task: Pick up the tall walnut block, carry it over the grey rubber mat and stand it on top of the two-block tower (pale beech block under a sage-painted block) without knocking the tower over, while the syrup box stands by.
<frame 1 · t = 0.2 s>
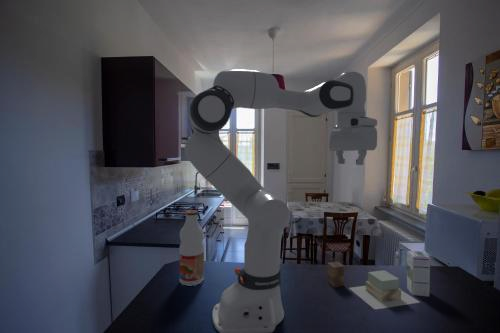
hand: (350, 164, 88), 47 cm above the countertop, fingers open, 8 cm apart
fruit juice: (191, 282, 103), on the countertop
syrup box: (417, 293, 96), on the countertop
tower base: (382, 294, 93), resting on mat, touching tower top
walnut block: (335, 284, 101), on the countertop
mat: (382, 295, 93), on the countertop
tower top: (383, 285, 93), point 4 cm above the countertop, touching tower base
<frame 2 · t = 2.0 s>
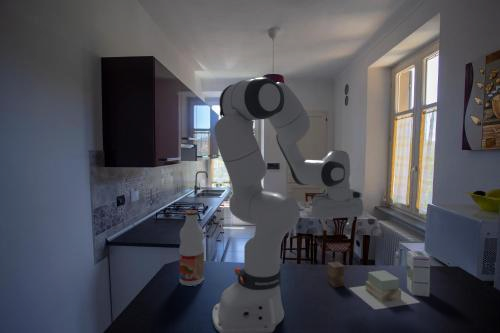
hand: (336, 228, 100), 22 cm above the countertop, fingers open, 8 cm apart
nothing on the countertop moved.
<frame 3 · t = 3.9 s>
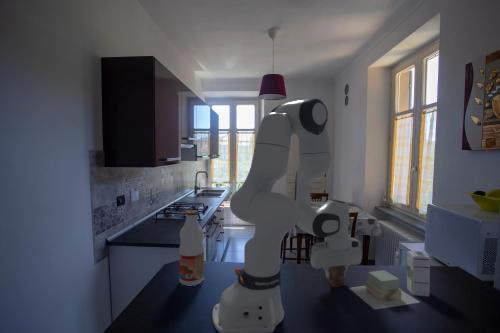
hand: (335, 276, 101), 3 cm above the countertop, fingers closed on walnut block, 5 cm apart
walnut block: (335, 284, 101), on the countertop, touching gripper
everything else where it was.
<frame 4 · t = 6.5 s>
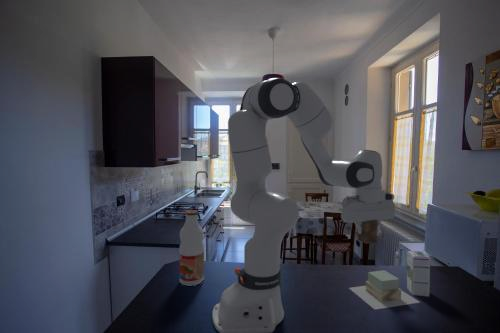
hand: (367, 232, 95), 22 cm above the countertop, fingers closed on walnut block, 4 cm apart
walnut block: (367, 241, 96), point 19 cm above the countertop, touching gripper
everything else where it was.
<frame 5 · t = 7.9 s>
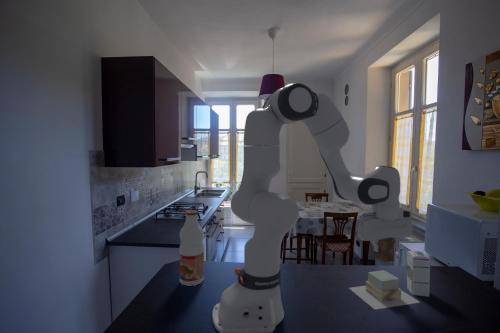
hand: (384, 250, 93), 16 cm above the countertop, fingers closed on walnut block, 4 cm apart
walnut block: (383, 259, 93), point 13 cm above the countertop, touching gripper
everything else where it was.
when the fingers open (12 cm above the countertop, at t = 9.1 s): walnut block drops 1 cm, resting on tower top.
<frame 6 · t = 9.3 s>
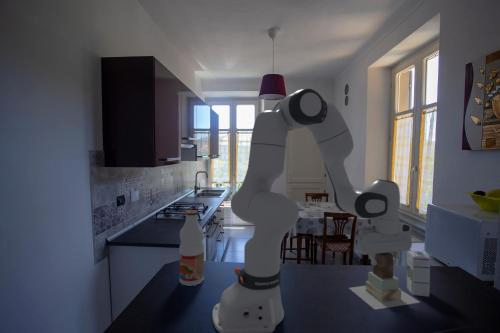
hand: (383, 264, 93), 12 cm above the countertop, fingers open, 6 cm apart
walnut block: (382, 275, 93), point 7 cm above the countertop, touching tower top
tower top: (383, 285, 93), point 4 cm above the countertop, touching tower base, walnut block
everything else where it was.
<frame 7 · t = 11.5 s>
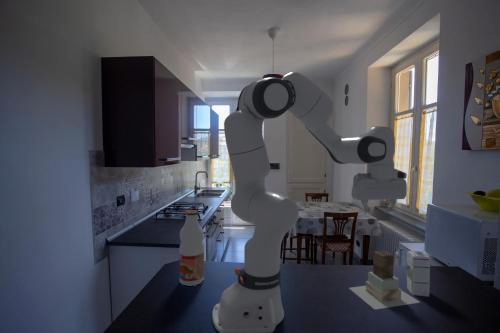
hand: (378, 211, 93), 30 cm above the countertop, fingers open, 8 cm apart
nothing on the countertop moved.
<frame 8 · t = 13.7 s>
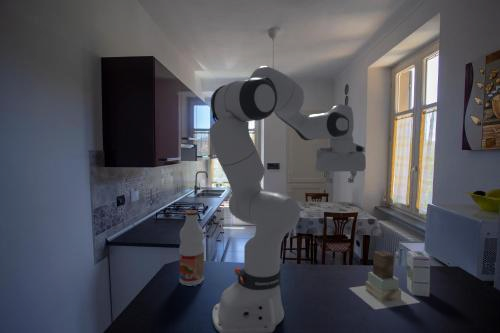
hand: (340, 183, 103), 39 cm above the countertop, fingers open, 8 cm apart
nothing on the countertop moved.
at the end: walnut block 0.1 cm off-centre on the tower top, point 3.5 cm above the tower top's base; walnut block tilted 0°; tower top moved 0.0 cm from its start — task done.
